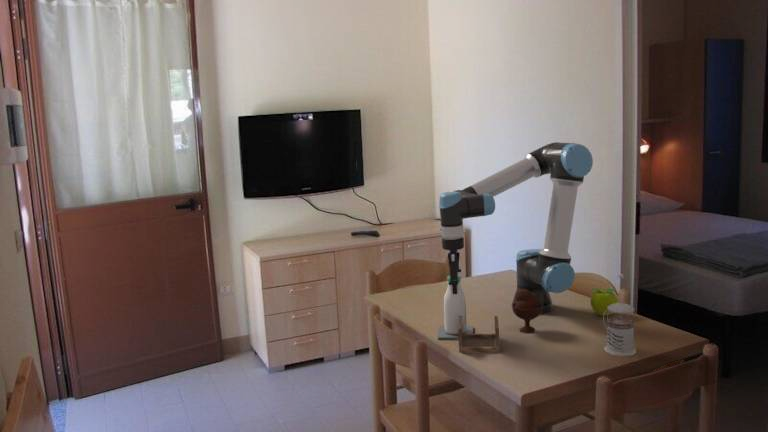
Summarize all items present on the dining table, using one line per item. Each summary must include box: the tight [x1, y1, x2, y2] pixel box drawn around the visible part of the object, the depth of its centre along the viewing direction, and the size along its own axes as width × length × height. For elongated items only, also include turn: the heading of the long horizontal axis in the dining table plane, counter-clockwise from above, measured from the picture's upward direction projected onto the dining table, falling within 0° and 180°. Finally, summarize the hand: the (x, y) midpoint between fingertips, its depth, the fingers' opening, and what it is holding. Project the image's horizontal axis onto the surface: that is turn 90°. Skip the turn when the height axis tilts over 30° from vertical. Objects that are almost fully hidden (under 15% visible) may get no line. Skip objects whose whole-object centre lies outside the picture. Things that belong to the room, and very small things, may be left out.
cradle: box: [458, 315, 500, 354], centre depth 212 cm, size 13×13×8 cm
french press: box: [602, 273, 637, 357], centre depth 201 cm, size 10×12×25 cm
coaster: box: [437, 325, 474, 341], centre depth 224 cm, size 12×12×1 cm
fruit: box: [590, 288, 618, 317], centre depth 235 cm, size 9×9×10 cm
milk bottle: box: [443, 275, 468, 334], centre depth 223 cm, size 8×8×20 cm
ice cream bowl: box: [510, 289, 543, 334], centre depth 222 cm, size 11×11×15 cm
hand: (456, 296), depth 222 cm, fingers open, 13 cm apart
